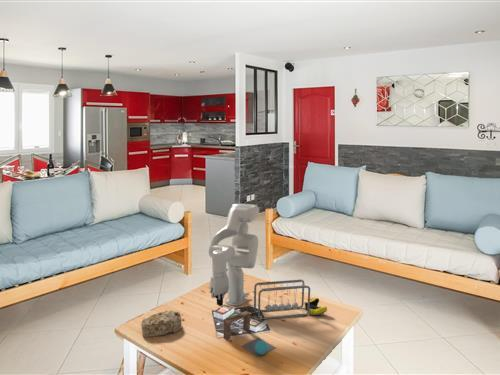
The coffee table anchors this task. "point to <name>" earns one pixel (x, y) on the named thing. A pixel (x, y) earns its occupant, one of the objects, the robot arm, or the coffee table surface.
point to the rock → (161, 323)
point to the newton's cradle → (281, 306)
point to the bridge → (228, 321)
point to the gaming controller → (315, 307)
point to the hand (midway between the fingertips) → (219, 305)
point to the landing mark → (251, 346)
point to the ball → (261, 347)
